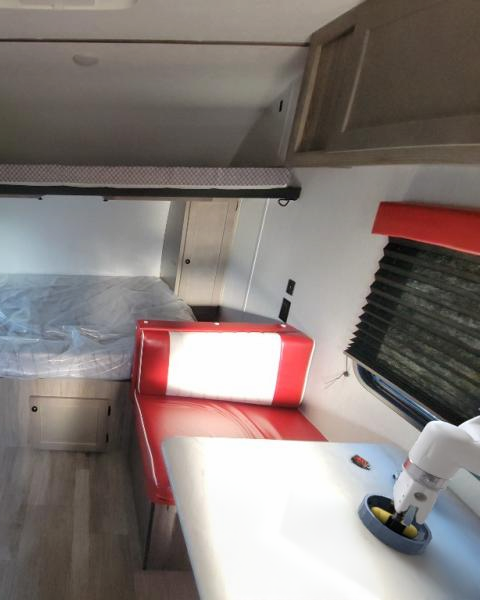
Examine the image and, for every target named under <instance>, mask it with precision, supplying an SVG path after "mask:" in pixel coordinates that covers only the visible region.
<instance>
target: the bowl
mask: <svg viewBox="0 0 480 600" xmlns="http://www.w3.org/2000/svg"><path fill="white" fill-rule="evenodd" d="M393 498H394V497H391V496H387V495H384V494H382V493H377V492H376V493H375V492H372V493H367V494H365V496H364V497H363V499H362V501H361V502H360V504H359V506H358V508H357V513H358V516H359V519H360V521H361V523H362V524H363V525H364V526H365V527H366V529H367V530H368V531H369V532H370V533H371V534H372V535H373V536H374V537H375V538H377V539H378V540H379V541H380V542H382V543H383V544H385V545H387V546H388V547H389V548H391V549H392V550H393V549H394V550H395V551H398V552H400V553H402V554H406V555H410V556H419V555H421V554H423V553H424V552H425V551H426V549H427V548H428V546H429V545H430V544H431V543H432V540H433V534H432V531H431V529H430V528H429V526H428V524H427V523H426V521H425V522H424V523H423V524H419V523H417V522H416V517H415V515H414V517H413V520H412V523H411V525H413V526H414V527H415V528H416V529H417V531H418V535H417V537H415V538H410V537H408V536H406V535H404V534H401V535H399V534H397V533H395V532H393V531H392V530H390V529H389V528H387V527H386V526H385V525H384V524H383V523H381V522H380V521H379V520H378V519H377V518H376V517H375V516H374V515H373V513H372V512H371V511H370V510H371V508H373V507H378V508H380V509H382V510H384V511H385V510H386V509H387V507H388V506H389V504H390V503H391V500H392V499H393ZM390 505H391V504H390ZM392 506H393V505H392Z"/></svg>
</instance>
